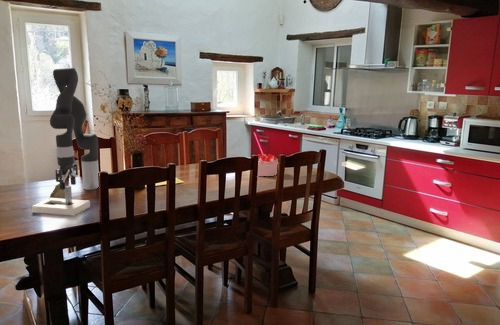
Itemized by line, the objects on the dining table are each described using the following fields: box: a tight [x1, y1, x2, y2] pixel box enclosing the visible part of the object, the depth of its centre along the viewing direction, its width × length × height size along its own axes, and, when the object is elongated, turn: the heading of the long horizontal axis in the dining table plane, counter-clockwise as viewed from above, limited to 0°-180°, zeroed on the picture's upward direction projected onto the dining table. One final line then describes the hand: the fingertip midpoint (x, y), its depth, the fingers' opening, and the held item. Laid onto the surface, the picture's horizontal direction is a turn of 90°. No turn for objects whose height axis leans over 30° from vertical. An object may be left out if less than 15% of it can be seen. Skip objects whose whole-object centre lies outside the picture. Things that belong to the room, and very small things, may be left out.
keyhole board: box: [31, 197, 91, 217], centre depth 191 cm, size 14×22×4 cm, turn 81°
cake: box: [257, 153, 279, 177], centre depth 277 cm, size 20×20×14 cm
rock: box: [49, 182, 67, 199], centre depth 207 cm, size 11×9×10 cm
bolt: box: [65, 185, 73, 205], centre depth 190 cm, size 5×5×12 cm
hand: (68, 187), depth 189 cm, fingers open, 8 cm apart
